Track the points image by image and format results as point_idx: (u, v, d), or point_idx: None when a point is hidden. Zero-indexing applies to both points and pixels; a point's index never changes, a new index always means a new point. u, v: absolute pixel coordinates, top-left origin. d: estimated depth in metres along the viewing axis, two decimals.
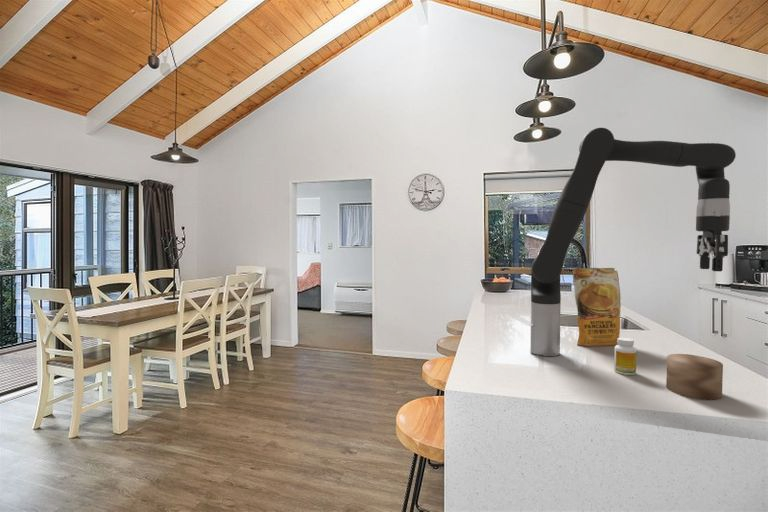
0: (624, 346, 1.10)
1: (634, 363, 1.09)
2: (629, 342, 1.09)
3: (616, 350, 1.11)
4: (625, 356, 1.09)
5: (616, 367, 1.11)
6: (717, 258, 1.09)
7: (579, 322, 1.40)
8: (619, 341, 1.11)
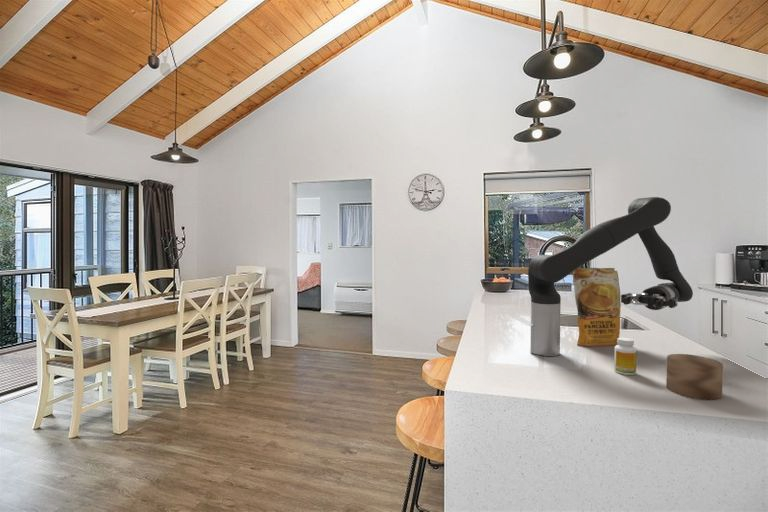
0: (624, 346, 1.10)
1: (634, 363, 1.09)
2: (629, 342, 1.09)
3: (616, 350, 1.11)
4: (625, 356, 1.09)
5: (616, 367, 1.11)
6: (665, 302, 1.16)
7: (579, 322, 1.40)
8: (619, 341, 1.11)
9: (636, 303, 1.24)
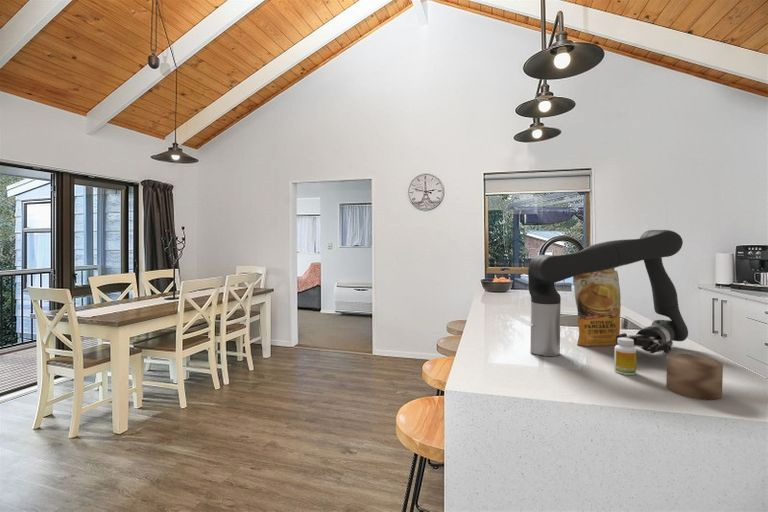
0: (624, 346, 1.10)
1: (634, 363, 1.09)
2: (629, 342, 1.09)
3: (616, 350, 1.11)
4: (625, 356, 1.09)
5: (616, 367, 1.11)
6: (660, 346, 1.15)
7: (579, 322, 1.40)
8: (619, 341, 1.11)
9: None
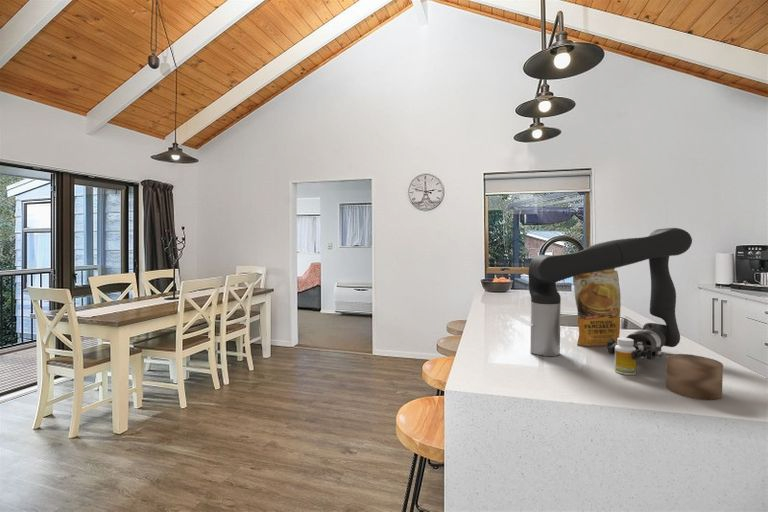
0: (624, 346, 1.10)
1: (634, 363, 1.09)
2: (629, 342, 1.09)
3: (616, 350, 1.11)
4: (625, 355, 1.09)
5: (616, 367, 1.11)
6: (643, 352, 1.09)
7: (579, 322, 1.40)
8: (619, 341, 1.11)
9: None
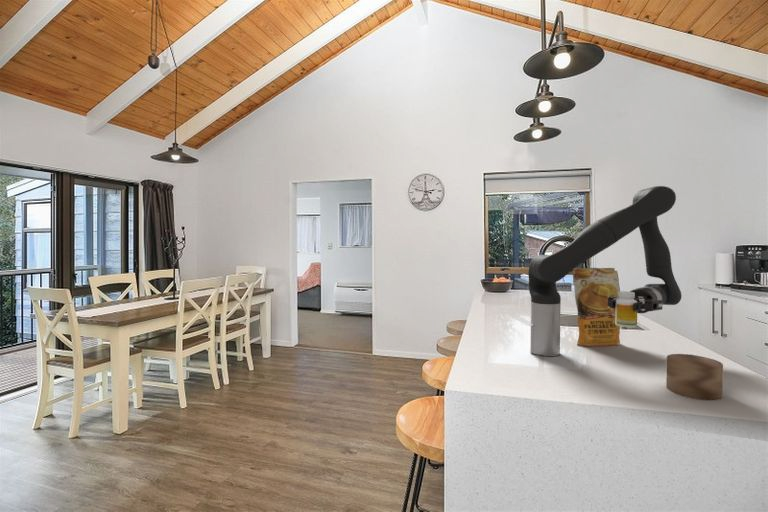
0: (625, 299, 1.10)
1: (635, 315, 1.09)
2: (630, 294, 1.09)
3: (617, 303, 1.11)
4: (626, 308, 1.09)
5: (617, 320, 1.11)
6: (644, 304, 1.08)
7: (579, 322, 1.40)
8: (620, 294, 1.10)
9: None
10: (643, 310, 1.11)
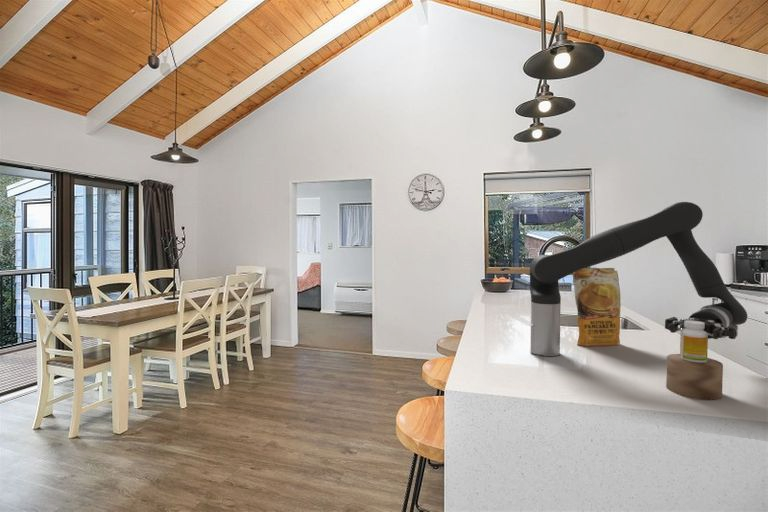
0: (693, 330, 0.96)
1: (706, 349, 0.95)
2: (700, 325, 0.95)
3: (684, 334, 0.97)
4: (695, 340, 0.95)
5: (684, 354, 0.97)
6: (724, 331, 0.94)
7: (579, 322, 1.40)
8: (687, 324, 0.97)
9: None
10: None
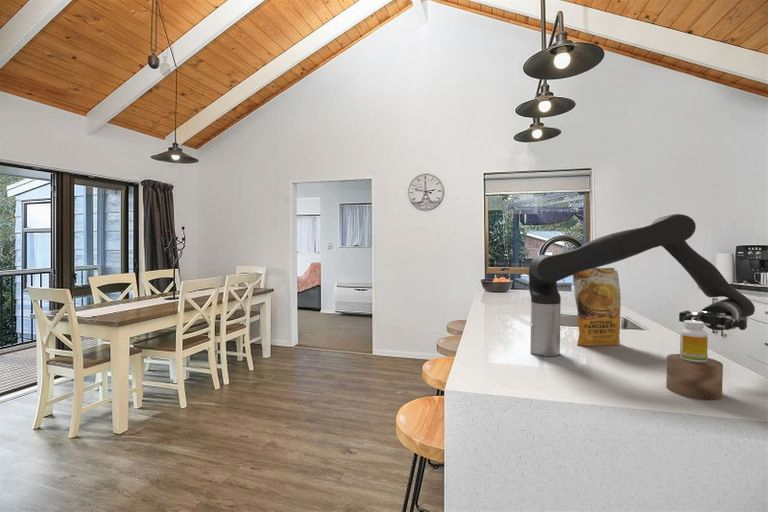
0: (692, 330, 0.96)
1: (705, 349, 0.95)
2: (699, 324, 0.95)
3: (683, 334, 0.97)
4: (694, 340, 0.95)
5: (683, 353, 0.97)
6: (735, 323, 1.02)
7: (579, 322, 1.40)
8: (686, 324, 0.97)
9: None
10: None
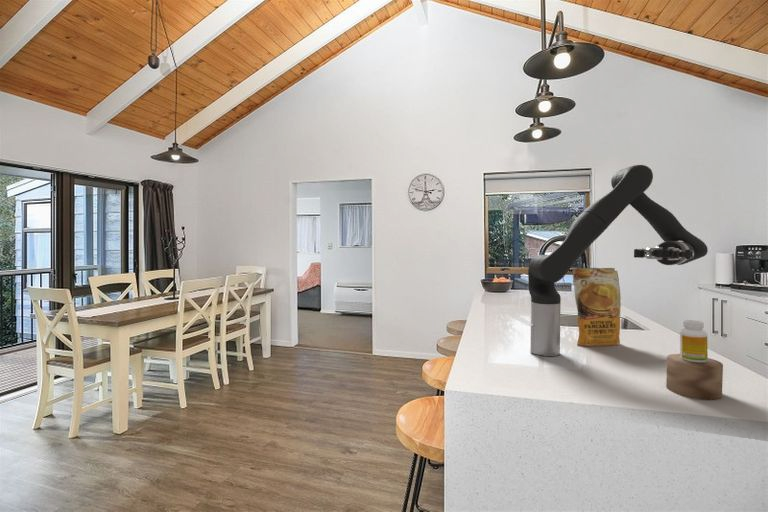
0: (692, 330, 0.96)
1: (705, 349, 0.95)
2: (698, 325, 0.95)
3: (682, 334, 0.98)
4: (693, 340, 0.95)
5: (683, 353, 0.98)
6: (681, 252, 1.10)
7: (579, 322, 1.40)
8: (685, 324, 0.97)
9: (650, 257, 1.18)
10: (677, 259, 1.13)
